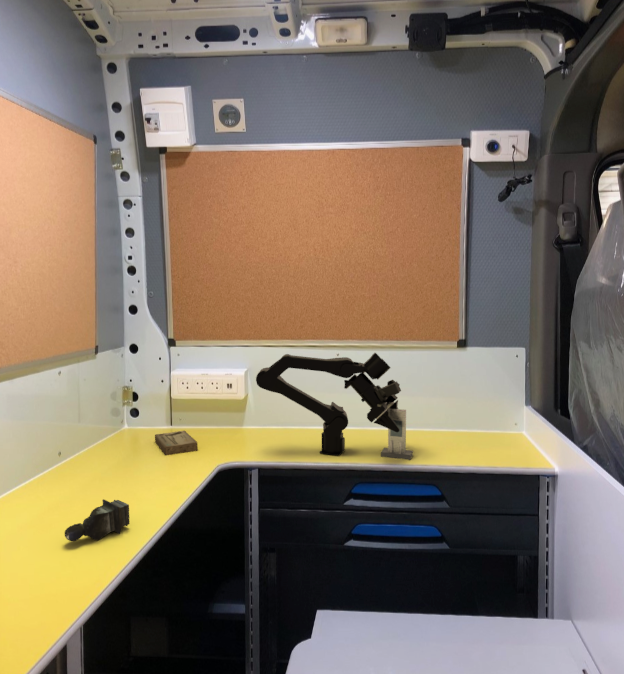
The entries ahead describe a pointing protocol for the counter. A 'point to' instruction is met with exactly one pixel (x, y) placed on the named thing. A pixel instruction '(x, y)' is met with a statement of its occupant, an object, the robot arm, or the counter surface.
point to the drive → (400, 436)
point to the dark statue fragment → (101, 521)
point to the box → (176, 442)
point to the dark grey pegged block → (406, 455)
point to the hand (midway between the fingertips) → (401, 427)
